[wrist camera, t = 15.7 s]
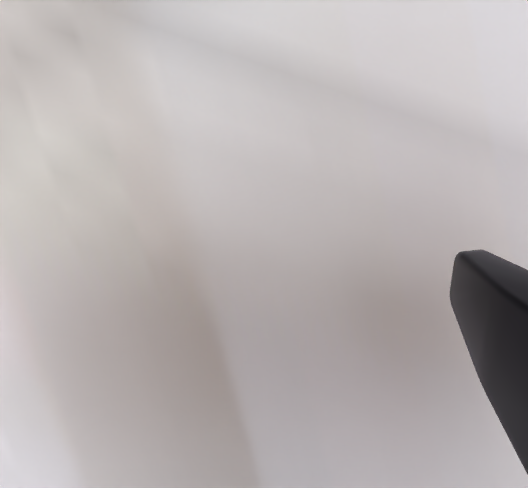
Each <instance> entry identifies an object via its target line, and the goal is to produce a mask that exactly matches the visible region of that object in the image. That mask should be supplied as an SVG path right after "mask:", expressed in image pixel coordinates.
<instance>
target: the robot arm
mask: <svg viewBox="0 0 528 488" xmlns="http://www.w3.org/2000/svg"><path fill="white" fill-rule="evenodd" d="M450 301H451V305H452V308H453V311H454V313H455V316H456V319H457V321H458V324H459V327H460V329H461V332H462V335H463V337H464V340H465V343H466V345H467V348H468V351H469V353H470V356H471V359H472V361H473V364H474V367H475V369H476V372H477V374H478V377H479V379H480V382H481V384H482V386H483V388H484V390H485V392H486V395H487V397H488V399H489V401H490V402H491V404H492V406H493V408H494V410H495V412H496V414H497V416H498V418H499V420H500V422H501V424H502V426H503V428H504V430H505V432H506V433H507V435H508V437H509V439H510V441H511V443H512V445H513V447H514V449H515V451H516V453H517V455H518V457H519V459H520V461H521V463H522V464H523V466H524V468H525V470H526V472H527V474H528V270H526V269H524V268H522V267H520V266H518V265H516V264H513V263H511V262H509V261H507V260H505V259H502V258H500V257H498V256H496V255H494V254H492V253H489V252H487V251H485V250H472V251H463V252H459V253H458V254H457V255H456V257H455V260H454V266H453V273H452V280H451V287H450Z"/></svg>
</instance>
